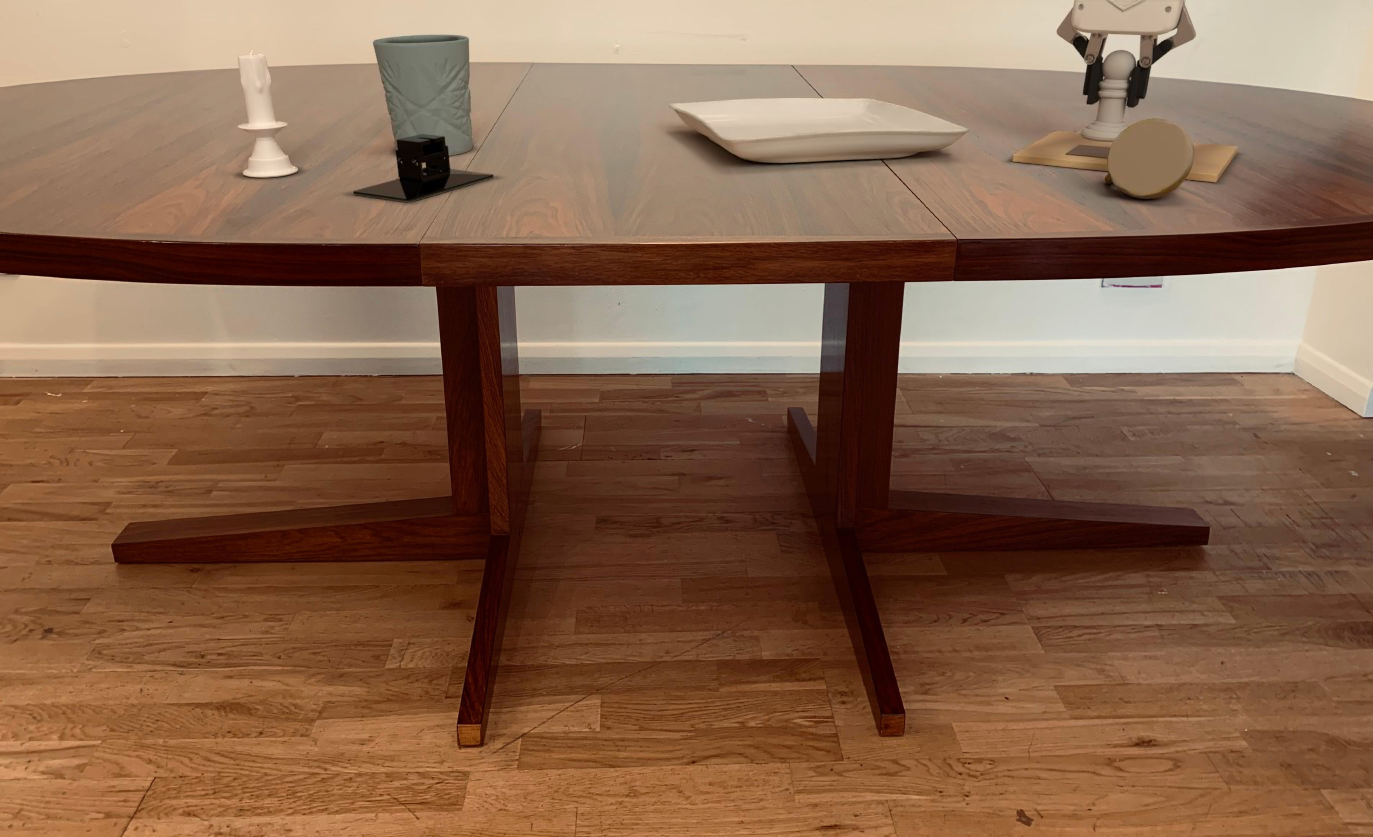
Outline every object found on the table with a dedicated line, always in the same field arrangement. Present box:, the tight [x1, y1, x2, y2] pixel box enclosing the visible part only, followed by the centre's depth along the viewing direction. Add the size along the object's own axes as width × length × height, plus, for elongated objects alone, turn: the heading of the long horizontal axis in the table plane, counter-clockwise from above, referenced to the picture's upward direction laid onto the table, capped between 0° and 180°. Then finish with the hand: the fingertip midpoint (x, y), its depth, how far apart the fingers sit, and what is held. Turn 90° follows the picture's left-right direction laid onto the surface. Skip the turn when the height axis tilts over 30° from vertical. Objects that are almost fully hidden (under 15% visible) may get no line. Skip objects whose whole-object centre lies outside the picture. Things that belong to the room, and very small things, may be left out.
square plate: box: [668, 97, 970, 164], centre depth 117 cm, size 27×27×4 cm
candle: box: [237, 48, 299, 179], centre depth 101 cm, size 5×5×12 cm
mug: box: [1104, 118, 1194, 200], centre depth 94 cm, size 8×10×10 cm
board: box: [1011, 130, 1239, 183], centre depth 111 cm, size 20×18×1 cm
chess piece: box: [1079, 49, 1137, 142], centre depth 107 cm, size 5×5×9 cm
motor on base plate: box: [352, 134, 495, 203], centre depth 97 cm, size 12×7×5 cm, turn 152°
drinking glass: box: [372, 34, 474, 157], centre depth 113 cm, size 10×10×12 cm
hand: (1112, 102), depth 107 cm, fingers closed on chess piece, 3 cm apart
